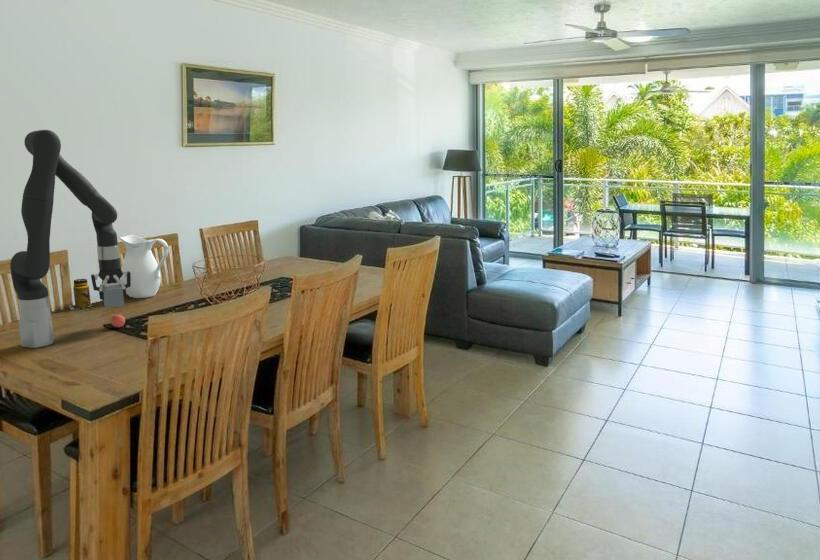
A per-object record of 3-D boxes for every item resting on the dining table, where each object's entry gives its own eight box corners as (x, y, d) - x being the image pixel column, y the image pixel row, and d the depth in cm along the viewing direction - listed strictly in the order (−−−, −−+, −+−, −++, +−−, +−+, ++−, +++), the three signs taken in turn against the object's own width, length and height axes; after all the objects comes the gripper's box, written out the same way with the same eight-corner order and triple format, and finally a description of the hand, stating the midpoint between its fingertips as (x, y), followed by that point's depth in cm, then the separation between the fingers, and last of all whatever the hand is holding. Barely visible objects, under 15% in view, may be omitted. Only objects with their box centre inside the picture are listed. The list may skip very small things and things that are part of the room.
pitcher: (114, 298, 285) (108, 238, 279) (140, 290, 301) (135, 233, 295) (158, 302, 279) (153, 241, 272) (182, 294, 294) (178, 235, 288)
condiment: (92, 307, 270) (90, 280, 267) (70, 310, 265) (67, 282, 263) (90, 303, 276) (87, 277, 273) (69, 306, 271) (65, 279, 269)
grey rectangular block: (124, 306, 238) (122, 288, 236) (105, 308, 235) (103, 290, 233) (122, 299, 247) (120, 282, 246) (103, 301, 244) (101, 284, 243)
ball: (118, 317, 245) (120, 329, 244) (107, 316, 241) (108, 328, 240) (127, 313, 243) (128, 325, 242) (115, 312, 239) (117, 324, 238)
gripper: (88, 260, 230) (93, 303, 234) (130, 257, 237) (134, 299, 241) (87, 257, 237) (92, 299, 241) (128, 253, 243) (132, 295, 247)
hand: (113, 299), depth 241 cm, fingers closed on grey rectangular block, 6 cm apart
